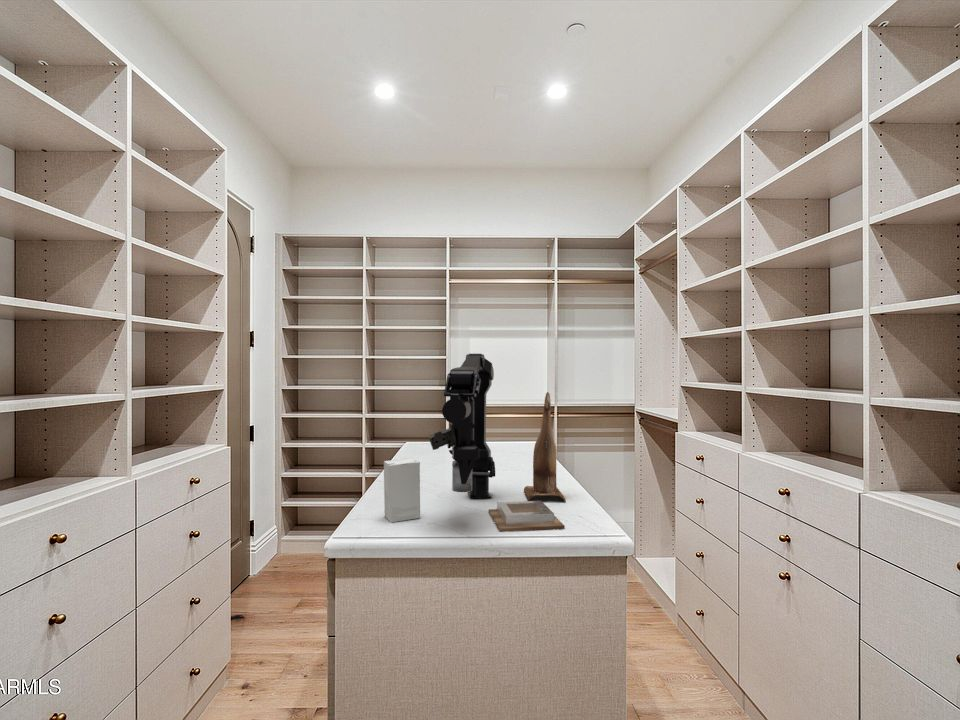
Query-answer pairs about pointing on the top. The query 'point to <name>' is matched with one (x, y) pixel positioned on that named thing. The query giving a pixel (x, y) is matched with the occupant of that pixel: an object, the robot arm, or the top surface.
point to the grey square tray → (525, 513)
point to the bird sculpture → (544, 459)
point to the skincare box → (402, 489)
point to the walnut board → (503, 527)
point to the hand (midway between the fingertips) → (462, 481)
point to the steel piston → (457, 481)
